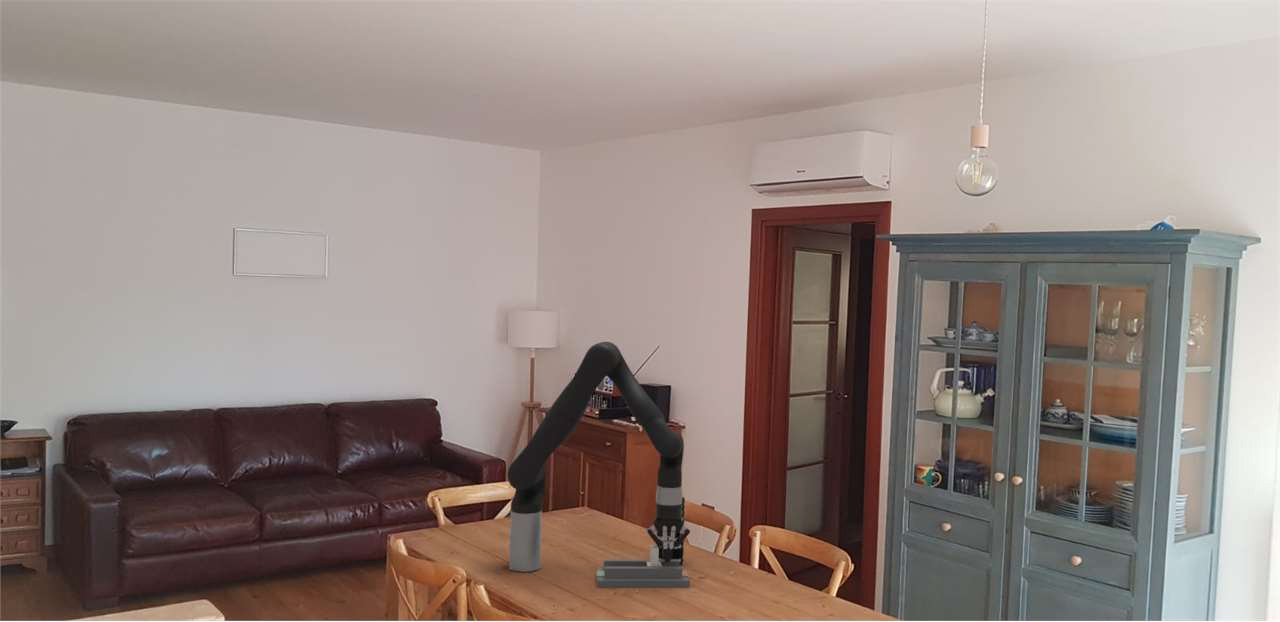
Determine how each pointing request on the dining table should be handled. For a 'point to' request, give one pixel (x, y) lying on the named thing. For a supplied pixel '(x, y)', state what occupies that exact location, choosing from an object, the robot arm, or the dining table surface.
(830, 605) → the dining table surface
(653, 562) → the breaker handle
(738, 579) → the dining table surface
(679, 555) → the spotted tube
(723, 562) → the dining table surface
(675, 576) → the breaker panel
